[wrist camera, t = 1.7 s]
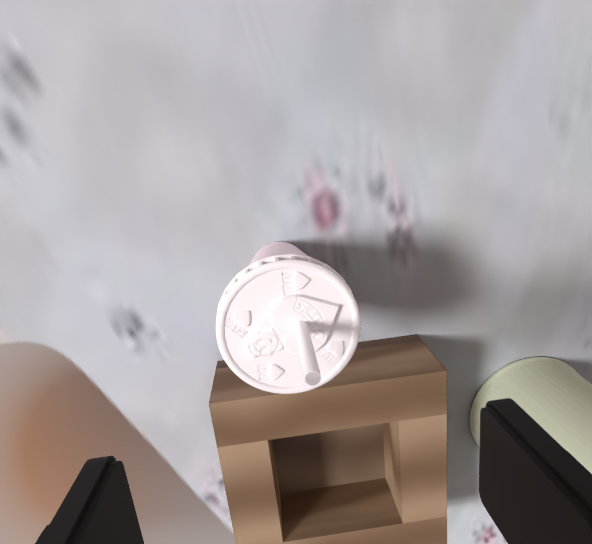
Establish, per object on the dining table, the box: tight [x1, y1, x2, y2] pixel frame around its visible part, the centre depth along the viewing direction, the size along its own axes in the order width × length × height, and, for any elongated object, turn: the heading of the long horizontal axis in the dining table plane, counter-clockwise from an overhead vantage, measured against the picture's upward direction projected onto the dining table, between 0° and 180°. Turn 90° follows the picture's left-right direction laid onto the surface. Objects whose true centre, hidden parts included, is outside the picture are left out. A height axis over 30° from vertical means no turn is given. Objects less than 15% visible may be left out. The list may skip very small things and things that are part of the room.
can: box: [470, 357, 592, 474], centre depth 26 cm, size 9×9×12 cm
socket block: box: [209, 335, 447, 544], centre depth 29 cm, size 14×14×5 cm
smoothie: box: [216, 242, 361, 394], centre depth 20 cm, size 6×6×14 cm
